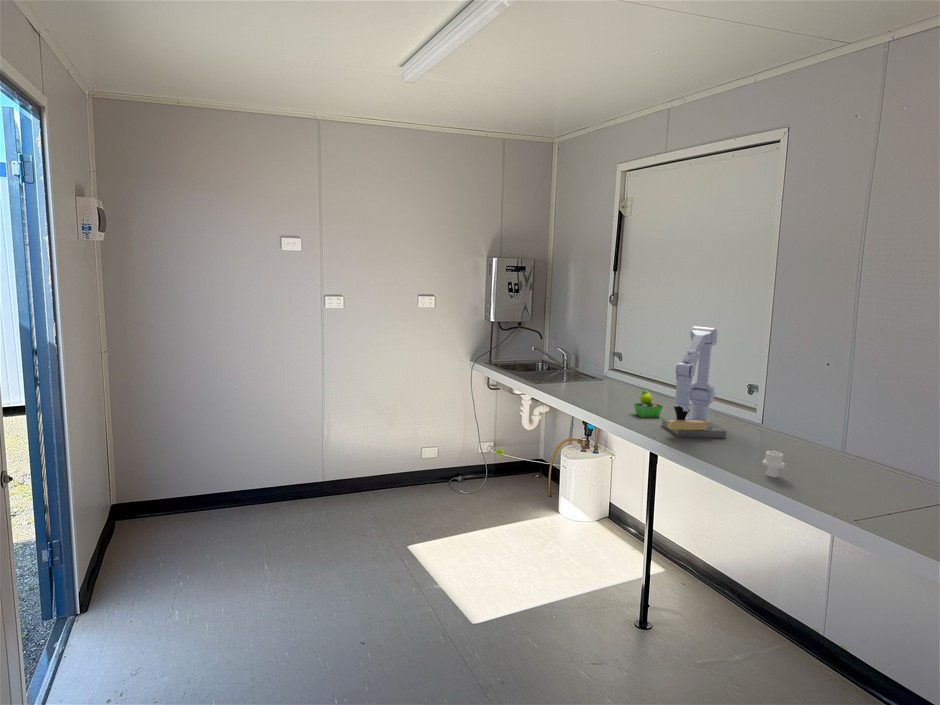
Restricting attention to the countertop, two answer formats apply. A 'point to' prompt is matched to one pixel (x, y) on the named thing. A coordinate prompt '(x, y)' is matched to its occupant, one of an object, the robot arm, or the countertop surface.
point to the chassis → (696, 431)
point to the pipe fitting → (773, 462)
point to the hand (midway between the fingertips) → (680, 424)
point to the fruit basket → (647, 406)
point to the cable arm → (690, 424)
